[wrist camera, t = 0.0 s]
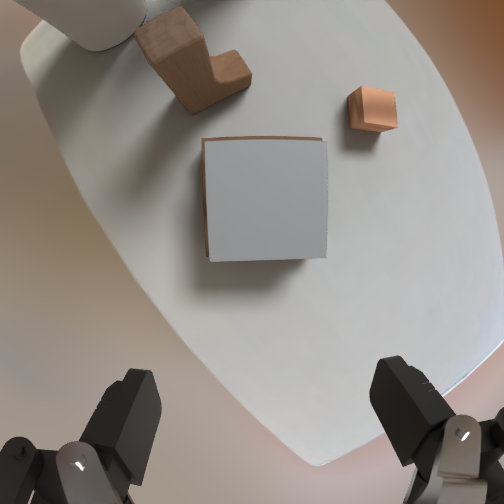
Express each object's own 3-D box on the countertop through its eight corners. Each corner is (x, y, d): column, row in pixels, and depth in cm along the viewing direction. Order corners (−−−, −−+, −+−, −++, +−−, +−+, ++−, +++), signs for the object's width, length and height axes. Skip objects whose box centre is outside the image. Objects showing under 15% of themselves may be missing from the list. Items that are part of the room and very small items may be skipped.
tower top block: (210, 147, 30) (204, 141, 25) (314, 146, 30) (327, 141, 25) (214, 249, 33) (209, 261, 28) (314, 246, 33) (326, 258, 28)
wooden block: (236, 61, 31) (232, -17, 13) (252, 85, 32) (260, 14, 14) (177, 91, 32) (130, 30, 14) (192, 116, 33) (150, 66, 15)
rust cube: (347, 96, 33) (361, 86, 28) (378, 100, 33) (394, 92, 28) (349, 128, 34) (364, 122, 29) (380, 132, 34) (397, 127, 29)
